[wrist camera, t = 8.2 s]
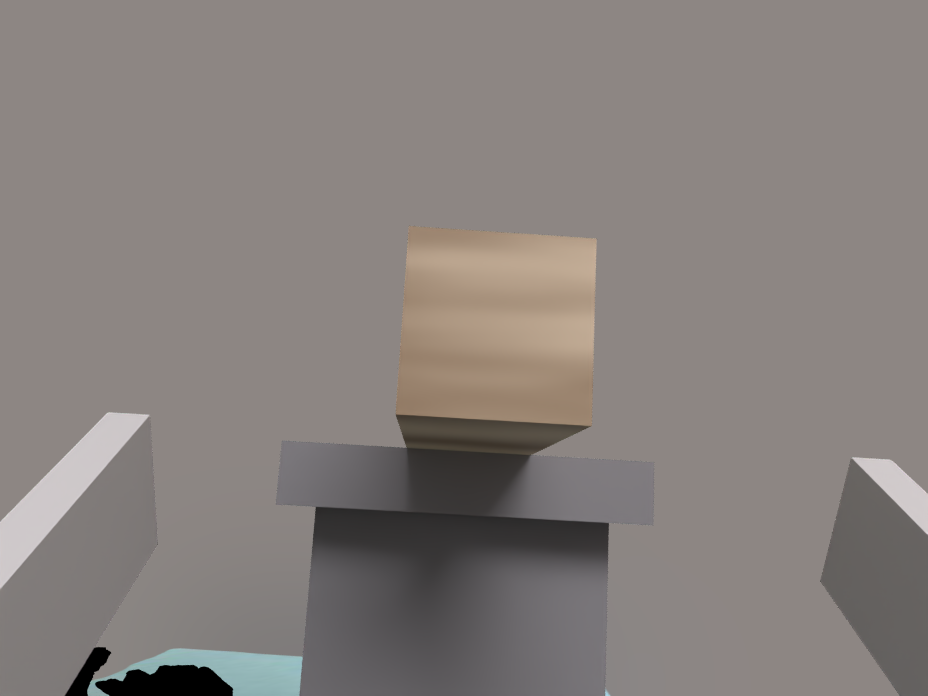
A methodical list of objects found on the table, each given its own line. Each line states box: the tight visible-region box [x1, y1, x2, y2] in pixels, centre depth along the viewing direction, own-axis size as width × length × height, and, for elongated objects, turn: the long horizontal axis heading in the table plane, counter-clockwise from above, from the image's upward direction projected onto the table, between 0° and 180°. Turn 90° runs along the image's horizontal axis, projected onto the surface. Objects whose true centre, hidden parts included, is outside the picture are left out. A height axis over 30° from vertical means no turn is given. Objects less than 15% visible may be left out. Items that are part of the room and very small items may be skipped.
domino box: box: [396, 226, 596, 455], centre depth 30 cm, size 26×4×4 cm, turn 2°
